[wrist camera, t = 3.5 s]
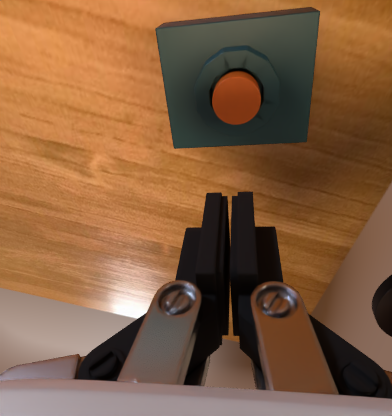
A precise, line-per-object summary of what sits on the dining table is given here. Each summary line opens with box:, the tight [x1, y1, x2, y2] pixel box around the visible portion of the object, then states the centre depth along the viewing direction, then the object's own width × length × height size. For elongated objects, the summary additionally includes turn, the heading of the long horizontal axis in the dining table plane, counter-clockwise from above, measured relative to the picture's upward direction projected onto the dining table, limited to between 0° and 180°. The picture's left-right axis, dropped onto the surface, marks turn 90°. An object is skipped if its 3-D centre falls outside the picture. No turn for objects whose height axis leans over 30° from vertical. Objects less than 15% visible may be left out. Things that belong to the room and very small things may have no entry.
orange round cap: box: [212, 71, 261, 125], centre depth 25 cm, size 4×4×2 cm
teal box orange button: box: [155, 7, 320, 149], centre depth 27 cm, size 12×10×5 cm
